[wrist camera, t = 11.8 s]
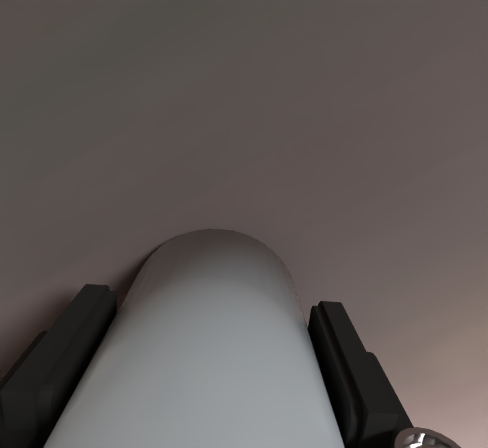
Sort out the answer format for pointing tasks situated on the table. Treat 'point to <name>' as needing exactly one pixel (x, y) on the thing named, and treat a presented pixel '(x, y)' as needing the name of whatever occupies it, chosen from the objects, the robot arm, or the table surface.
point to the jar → (204, 357)
